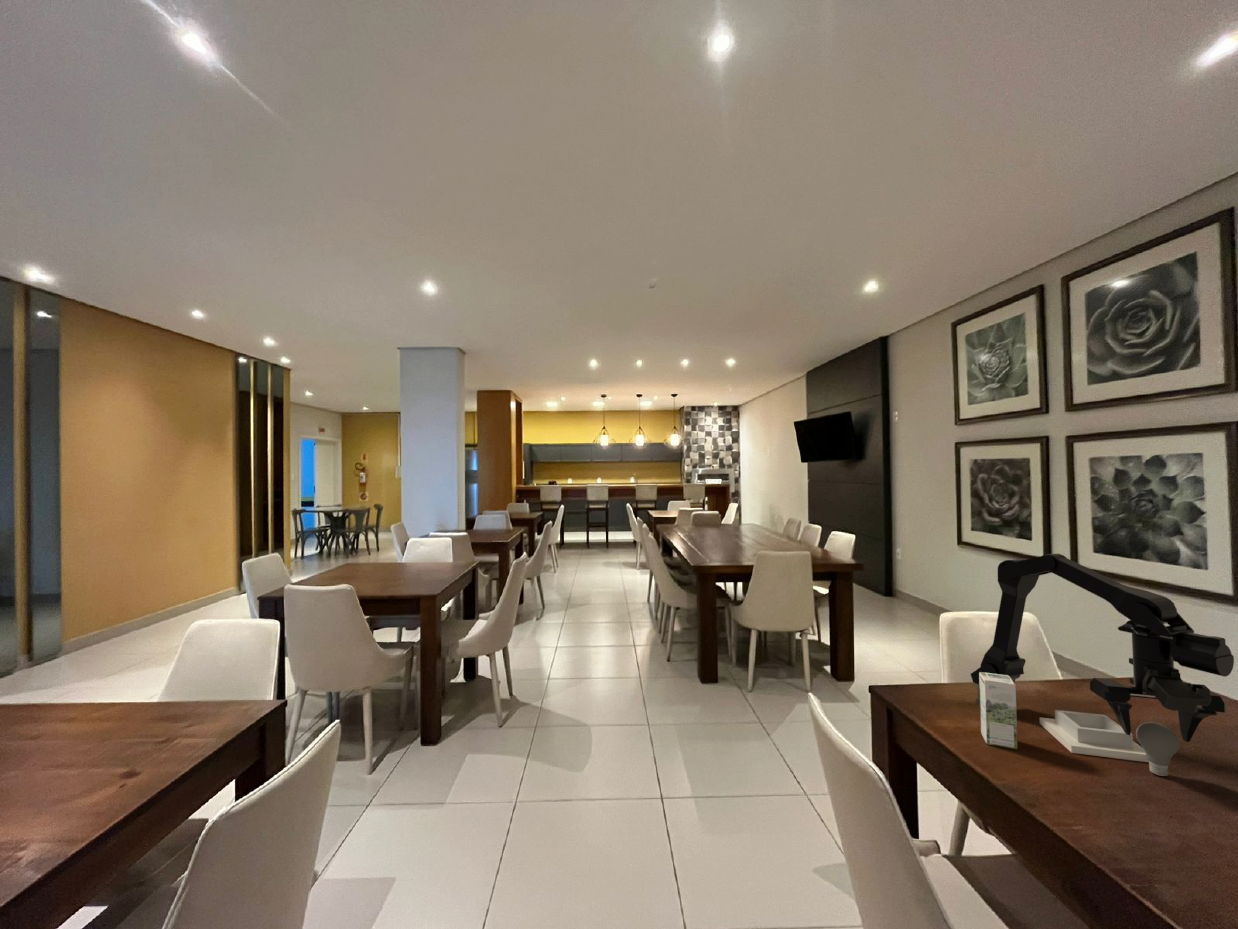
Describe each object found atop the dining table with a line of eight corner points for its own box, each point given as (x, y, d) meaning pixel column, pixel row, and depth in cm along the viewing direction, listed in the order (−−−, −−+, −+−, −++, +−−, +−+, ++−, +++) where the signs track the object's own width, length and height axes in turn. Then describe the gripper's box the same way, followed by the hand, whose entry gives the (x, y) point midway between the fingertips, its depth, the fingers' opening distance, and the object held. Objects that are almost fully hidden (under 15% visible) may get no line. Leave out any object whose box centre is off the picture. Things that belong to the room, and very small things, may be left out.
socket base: (1071, 752, 109) (1070, 731, 110) (1039, 723, 123) (1039, 704, 123) (1153, 763, 105) (1152, 741, 105) (1111, 731, 119) (1110, 712, 119)
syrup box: (1010, 738, 116) (1008, 674, 116) (1018, 751, 110) (1015, 683, 111) (980, 733, 118) (978, 670, 119) (986, 745, 113) (984, 679, 113)
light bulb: (1160, 767, 104) (1158, 717, 104) (1190, 784, 98) (1188, 731, 98) (1128, 765, 104) (1126, 716, 105) (1156, 782, 98) (1154, 730, 99)
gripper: (1120, 667, 97) (1124, 751, 97) (1249, 678, 92) (1254, 766, 91) (1086, 649, 108) (1089, 724, 107) (1200, 658, 102) (1204, 737, 102)
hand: (1156, 737), depth 102 cm, fingers open, 9 cm apart
